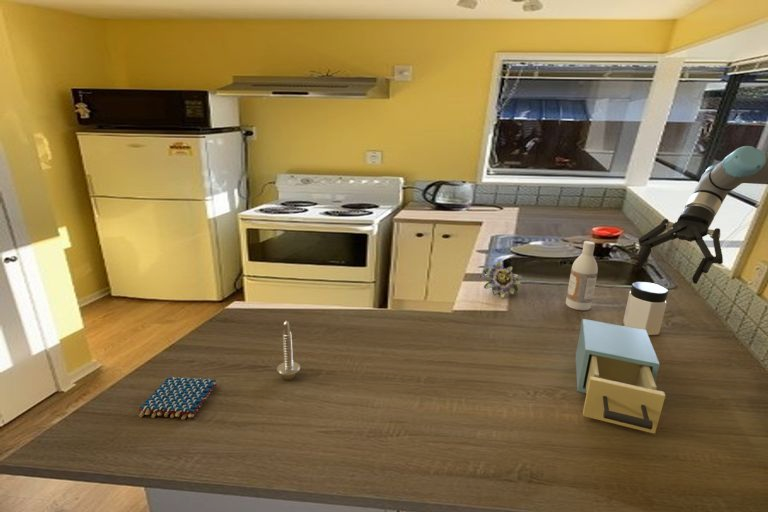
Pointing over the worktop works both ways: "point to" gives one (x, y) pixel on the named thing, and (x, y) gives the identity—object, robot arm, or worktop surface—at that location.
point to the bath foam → (582, 279)
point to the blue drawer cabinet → (613, 347)
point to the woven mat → (178, 397)
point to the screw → (288, 356)
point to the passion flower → (501, 280)
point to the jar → (646, 307)
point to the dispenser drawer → (622, 394)
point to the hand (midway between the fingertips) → (665, 273)
